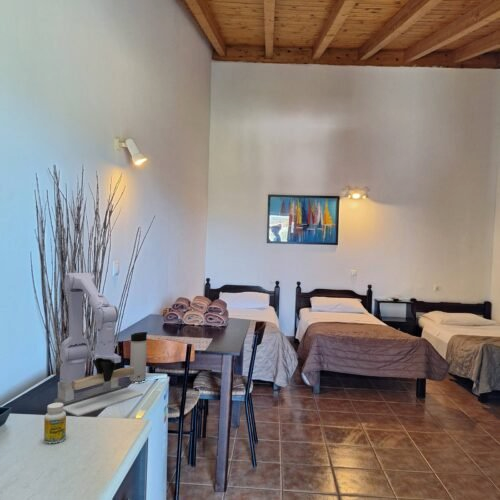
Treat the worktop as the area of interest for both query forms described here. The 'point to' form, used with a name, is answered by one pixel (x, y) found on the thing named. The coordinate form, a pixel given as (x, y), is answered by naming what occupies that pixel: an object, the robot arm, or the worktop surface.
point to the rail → (101, 378)
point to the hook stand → (83, 392)
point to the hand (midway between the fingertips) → (104, 380)
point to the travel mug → (138, 356)
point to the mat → (101, 401)
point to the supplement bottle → (55, 423)
